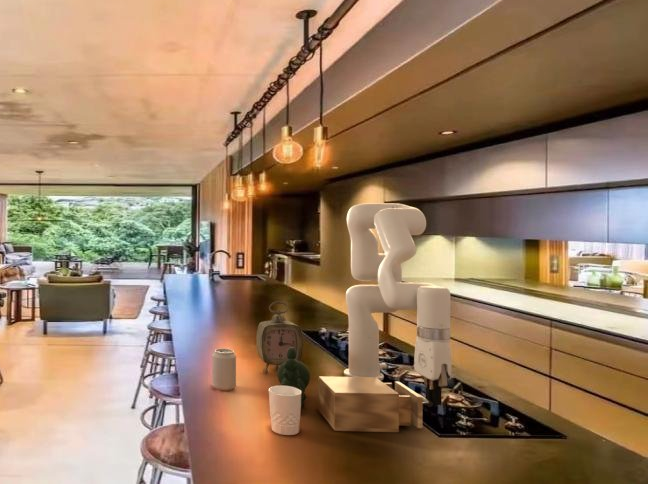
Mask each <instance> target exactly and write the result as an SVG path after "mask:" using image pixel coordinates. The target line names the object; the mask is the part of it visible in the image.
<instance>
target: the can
mask: <svg viewBox="0 0 648 484" xmlns="http://www.w3.org/2000/svg"><path fill="white" fill-rule="evenodd" d="M211 357H212V358H211V359H212V362H211V363H212V365H211V367H212V368H211V369H212V372H211V373H212V375H211V376H212V377H211V378H212V379H211V381H212V382H211V383H212V386H213V387H214V389H216V390H218V391H226V392H227V391H232V390H234V389H235V388H236V387H237V355H236V354H235V351H234V350H233V349H231V348H216V349H214V352H213V353H212V355H211Z"/></svg>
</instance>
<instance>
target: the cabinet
mask: <svg viewBox="0 0 648 484" xmlns="http://www.w3.org/2000/svg"><path fill="white" fill-rule="evenodd" d="M384 383H385V382H383V380H381V381H380V380H379V379H377V378H376V377H346V376H320V375H319V376H318V412H319V413H320V414H321V416H322V418H324V419H325V421H326V422H327V423H328V424H329V426H330V427H331V428H332V429H333V431H335V432H367V433H368V432H371V433H373V432H374V433H399V432H400V425H399V394H398V393H397V392H396V391H395V389H393V388H392V389H391V388H390V387H389V386H387V385H386V384H384Z"/></svg>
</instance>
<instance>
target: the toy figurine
mask: <svg viewBox="0 0 648 484" xmlns="http://www.w3.org/2000/svg"><path fill="white" fill-rule="evenodd" d="M287 358H288V360H286V361H285V362H283V363H282V364H281V365H279V369H278V370H277V380H278V382H279V384H280V385H281V386H291V387H295V388H297V389H299V390H301V392H302V393H301V410H302V409H303V408H305V406H306V403H305V401H307V395H306V393H305V392H306V388H307V387H308V386H309V384H310V381H311V373H310V370H309V367H308V366H307V365H306V364H305V363H303V362H302V361H301V360H300V361H298V360H294V359H295V358H296V350H295V348H293V347H290V348H289V349H288V350H287Z"/></svg>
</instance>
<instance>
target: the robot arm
mask: <svg viewBox="0 0 648 484" xmlns="http://www.w3.org/2000/svg"><path fill="white" fill-rule="evenodd" d="M346 226H347V230H348V234H349V238H350V274H351V276H352V278H353V279H354V280H356V281H359V282H377V284H355V285H352V286H350V287H349V288H348V289H346V292H345V302H346V308H347V309H346V310H347V318H348V319H347V320H348V368H346V369H344V370H343V375H344V377H376V378H377V379H379V380H380V381H383V380H384V379H385V376H384V374H383V373H382V372H381V370H386V369H387V368H388V365H387V363H385V362H382V363H380V328H379V324H378V322H377V321H376V319H375V318H374V316H373V315H372V314H375V313H376V314H377V313H378V314H383V313H384V314H385V313H386V314H389V313H396V312H397V311H406V310H407V311H410V310H412V311H416V339H415V345H414V354H413V355H414V359H413V369H414V371H415V372H416V373H417V374H418V375H420V376H421V377H422V378H423V384H424V388H425V398H426V399H428V400H429V401H431V402H432V403H433V406H442V391H443V388H447V387H448V382H449V381H450V380H452V374H453V370H452V368H453V365H452V363H453V362H452V351H451V345H450V344H451V343H450V341H451V292H450V290H449V288H447V287H445V286H439V285H435V284H434V283H430V282H415V281H414V282H411V281H410V282H408V281H407V282H403V281H402V277H403V275H402V273H403V271H402V264H403V263H404V262H407V261H409V260H411V259H412V258H413V257H414V256H415V255H416V254H417V246H416V244H415V241H414V239H413V236H420V235H422V234H423V233H424V232H425V230H426V228H427V219H426V216H425V214H424V213H423V211H421V210H420V209H419V208H417V207H413V206H409V205H406V204H403V203H391V202H389V203H387V202H386V203H385V202H384V203H382V202H381V203H379V202H365V203H357V204H355V205H352V206H351V207H350V208H349V210H348V211H347V215H346ZM374 229H375V230H376V233H377V236H378V237H377V236H376V234H375V232H374V231H373V230H374ZM378 239H379V240H378ZM379 242H380V246H381V248H382V250H383V251H382V252H383V253H380V252H379Z"/></svg>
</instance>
